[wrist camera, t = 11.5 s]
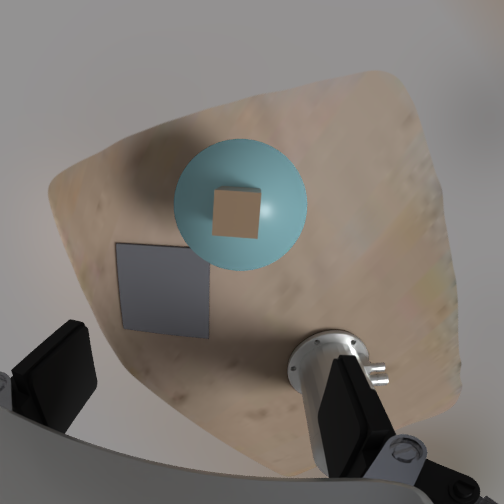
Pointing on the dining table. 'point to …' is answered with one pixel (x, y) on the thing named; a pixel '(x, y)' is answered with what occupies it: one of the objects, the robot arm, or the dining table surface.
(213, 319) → the dining table surface
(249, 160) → the lid
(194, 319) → the mat
